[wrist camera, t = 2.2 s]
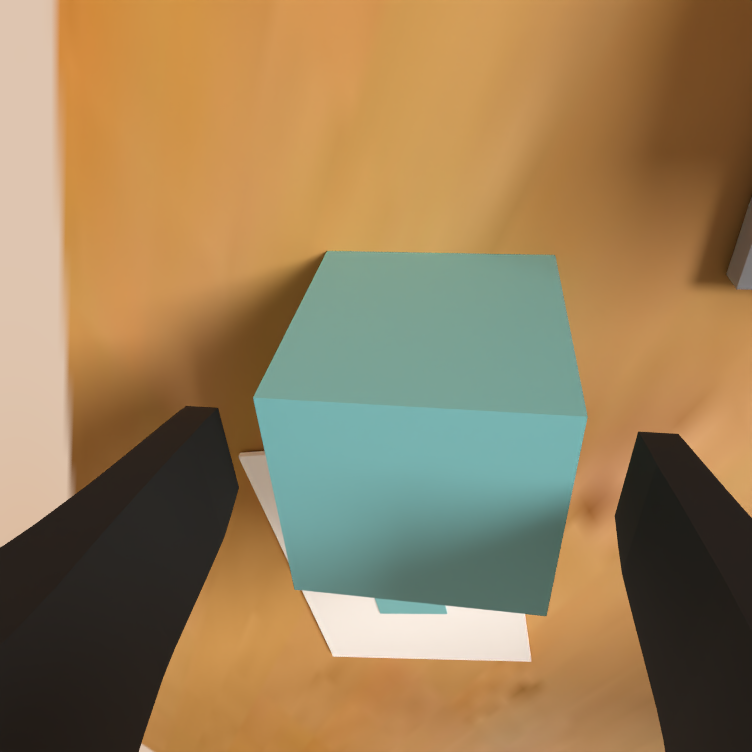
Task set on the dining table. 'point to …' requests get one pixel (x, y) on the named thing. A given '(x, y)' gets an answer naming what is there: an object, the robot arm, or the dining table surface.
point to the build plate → (742, 255)
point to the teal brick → (426, 429)
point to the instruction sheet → (399, 613)
